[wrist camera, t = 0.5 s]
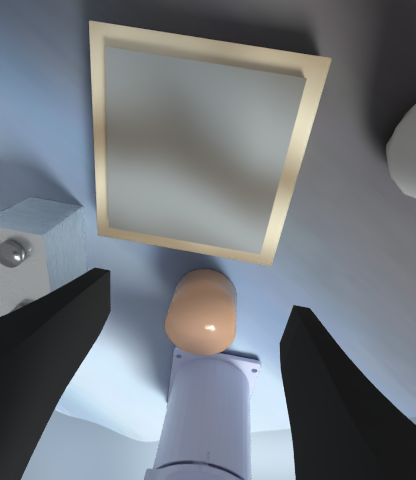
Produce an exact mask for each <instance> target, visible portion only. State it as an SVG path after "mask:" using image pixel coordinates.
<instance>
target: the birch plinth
mask: <svg viewBox="0 0 416 480" xmlns="http://www.w3.org/2000/svg"><path fill="white" fill-rule="evenodd" d="M89 35H90V59H91V83H92V107H93V131H94V155H95V180H96V204H97V228H98V235H100V236H106V237H111V238H117V239H123V240H128V241H134V242H139V243H145V244H151V245H156V246H162V247H167V248H173V249H179V250H184V251H190V252H195V253H201V254H207V255H212V256H218V257H223V258H229V259H235V260H240V261H246V262H252V263H257V264H263V265H268V266H272V262H273V259H274V255H275V252H276V248H277V245H278V242H279V238H280V235H281V231H282V228H283V224H284V221H285V217H286V214H287V211H288V207H289V204H290V200H291V197H292V193H293V190H294V187H295V183H296V180H297V176H298V173H299V169H300V166H301V162H302V159H303V156H304V152H305V149H306V145H307V142H308V138H309V135H310V132H311V128H312V125H313V121H314V118H315V114H316V111H317V107H318V104H319V101H320V97H321V94H322V90H323V87H324V83H325V80H326V77H327V73H328V70H329V66H330V63H331V59H332V58H327V57H320V56H314V55H307V54H301V53H295V52H288V51H282V50H275V49H269V48H263V47H256V46H250V45H243V44H237V43H230V42H224V41H218V40H211V39H205V38H198V37H192V36H186V35H179V34H173V33H166V32H160V31H153V30H147V29H141V28H134V27H128V26H121V25H115V24H109V23H102V22H96V21H89Z"/></svg>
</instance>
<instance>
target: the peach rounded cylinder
mask: <svg viewBox="0 0 416 480" xmlns="http://www.w3.org/2000/svg"><path fill="white" fill-rule="evenodd" d="M236 303H237V293H236V289H235V286H234V284H233V283H232V282H231V280H230V279H229V278H227V277H226V276H225V275H223V274H222V273H220V272H217V271H214V270H210V269H198V270H194V271H191V272H189V273H187V274H185V275H184V276H183V277H182V278H181V279H180V280H179V282H178V284H177V287H176V290H175V293H174V296H173V299H172V302H171V305H170V307H169V310H168V313H167V316H166V319H165V331H166V334H167V336H168V338H169V339H170V341H171V342H172V343H173V344H174V345H175V346H177V347H178V348H180V349H181V350H183V351H186V352H188V353H191V354H195V355H213V354H217V353H219V352H222V351H224V350H225V349H227V348H228V347H229V346H230V345H231V344H232V342H233V340H234V338H235V333H236Z"/></svg>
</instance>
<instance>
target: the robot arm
mask: <svg viewBox="0 0 416 480" xmlns="http://www.w3.org/2000/svg"><path fill="white" fill-rule="evenodd" d="M109 313H110V271H109V270H104V269H99V268H94V269H92V270H90V271H88V272H86V273H84V274H83V275H81V276H79V277H77V278H76V279H74V280H72V281H70V282H69V283H67V284H65V285H63V286H61V287H60V288H58V289H56V290H54V291H52V292H51V293H49V294H47V295H45V296H43V297H41V298H39V299H37V300H35V301H33V302H31V303H29V304H27V305H25V306H23V307H21V308H19V309H17V310H15V311H12V312H10V313H8V314H6V315H3V316H1V317H0V480H21V478H22V475H23V473H24V471H25V469H26V467H27V464H28V462H29V460H30V458H31V456H32V454H33V452H34V450H35V448H36V446H37V443H38V441H39V439H40V437H41V435H42V433H43V431H44V429H45V427H46V425H47V423H48V421H49V419H50V417H51V415H52V413H53V411H54V409H55V407H56V405H57V403H58V401H59V399H60V398H61V396H62V394H63V392H64V391H65V389H66V387H67V385H68V384H69V382H70V381H71V379H72V378H73V376H74V374H75V373H76V371H77V370H78V368H79V366H80V365H81V363H82V362H83V360H84V359H85V357H86V355H87V354H88V352H89V351H90V349H91V348H92V346H93V344H94V343H95V341H96V339H97V338H98V336H99V335H100V333H101V331H102V329H103V326H104V324H105V322H106V320H107V318H108V316H109ZM178 354H179V355H178ZM280 364H281V374H282V380H283V386H284V392H285V397H286V403H287V409H288V415H289V421H290V426H291V433H292V440H293V450H294V463H295V475H296V480H416V425H415V424H414V423H413V422H412V421H411V420H409V419H408V418H407V417H406V416H405V415H404V414H403V413H402V412H401V411H399V410H398V409H397V408H396V407H395V406H394V405H393V404H392V403H391V402H390V401H389V400H388V399H387V398H386V397H385V396H384V395H383V394H382V393H381V392H380V391H379V390H378V389H377V388H376V387H375V386H374V385H373V384H372V383H371V382H370V381H369V380H368V379H367V378H366V377H365V375H364V374H363V373H362V372H361V371H360V370H359V369H358V368H357V366H356V365H355V364H354V363H353V362H352V361H351V360H350V358H349V357H348V356H347V355H346V354H345V352H344V351H343V350H342V349H341V348H340V346H339V345H338V344H337V343H336V341H335V340H334V339H333V338H332V336H331V335H330V334H329V332H328V331H327V330H326V329H325V327H324V326H323V325H322V323H321V322H320V321H319V319H318V318H317V317H316V316H315V314H314V313H313V312H312V310H311V309H310V308H306V307H301V306H295V305H294V306H293V309H292V311H291V314H290V317H289V320H288V322H287V325H286V328H285V330H284V333H283V336H282V339H281V341H280ZM260 369H261V363H260V361H258V360H254V359H248V358H243V357H238V356H232V355H227V354H222V353H217V354H213V355H195V354H191V353H188V352H186V351H183V350H181V349H180V348H178V347H177V346H176V347H175V349H174V354H173V362H172V370H171V378H170V386H169V394H168V403H167V412H166V416H165V420H164V424H163V428H162V433H161V437H160V441H159V445H158V449H157V454H156V458H155V462H154V466H153V469H147V470H146V473H145V477H144V480H251V435H250V399H251V396H252V393H253V390H254V387H255V384H256V381H257V378H258V375H259V372H260Z"/></svg>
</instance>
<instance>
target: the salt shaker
mask: <svg viewBox="0 0 416 480" xmlns="http://www.w3.org/2000/svg"><path fill="white" fill-rule="evenodd" d="M386 155H387V163H388V172H389V175H390V176H391V178H392V179H393V180H394V182H395V183H396V184H397V186H398V187H399V188H400V189H401V191H402V192H403V193H404V194H406V195H408V196H411V197H414V198H416V104H415V105H414V106H413V107H412V108H411V109H410V110H409V111H408V112H406V113H405V115H404V117H403V118H402V120H401V122H400V123H399V124H398V125H397V126H396V128H395V131H394V133H393V135H392V136H391V138H390V140H389V141H388V143H387V144H386Z"/></svg>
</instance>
